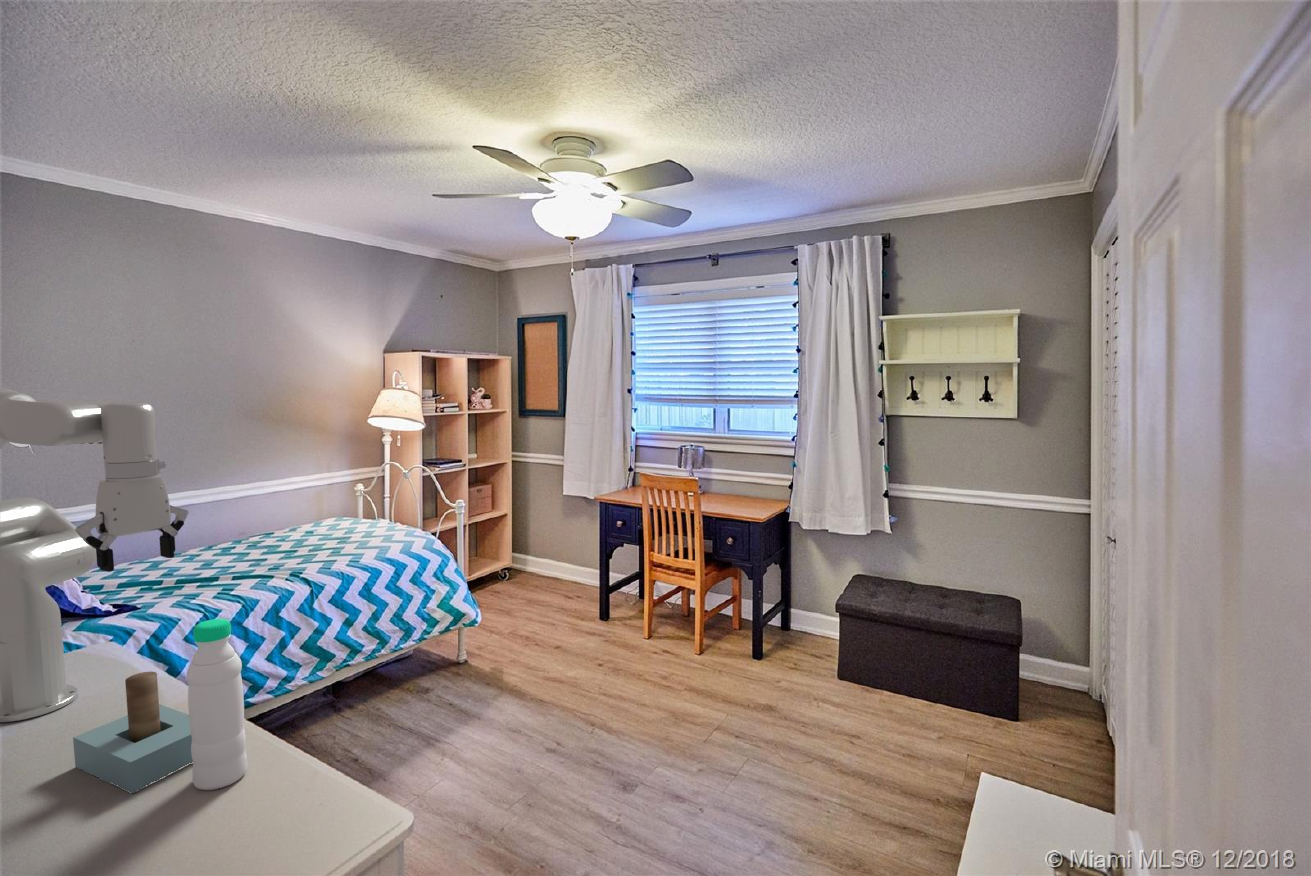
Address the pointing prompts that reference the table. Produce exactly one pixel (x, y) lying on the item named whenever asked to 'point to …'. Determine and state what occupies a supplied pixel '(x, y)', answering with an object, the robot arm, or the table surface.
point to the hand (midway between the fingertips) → (138, 563)
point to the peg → (142, 706)
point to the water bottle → (216, 708)
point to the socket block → (135, 751)
